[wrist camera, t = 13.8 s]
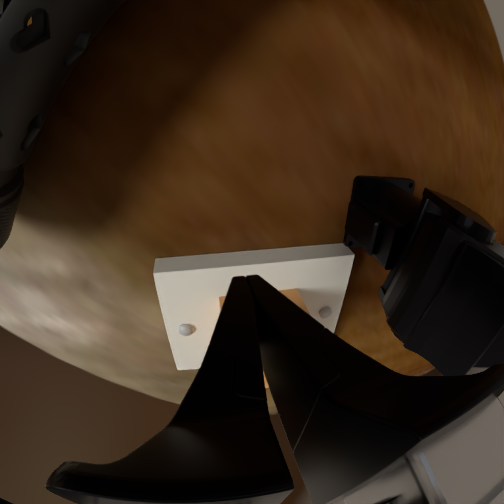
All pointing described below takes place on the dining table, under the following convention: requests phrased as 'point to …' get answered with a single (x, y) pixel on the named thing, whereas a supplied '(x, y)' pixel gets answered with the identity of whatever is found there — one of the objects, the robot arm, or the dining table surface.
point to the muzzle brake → (36, 77)
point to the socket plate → (242, 264)
